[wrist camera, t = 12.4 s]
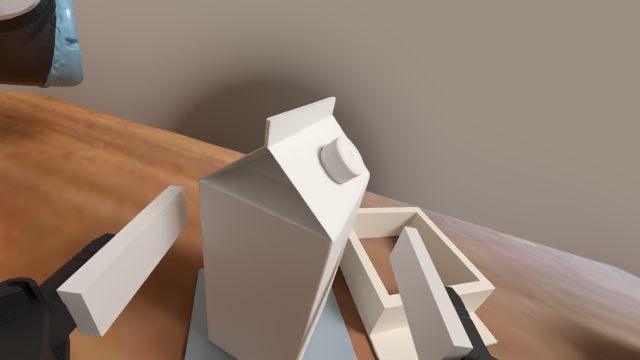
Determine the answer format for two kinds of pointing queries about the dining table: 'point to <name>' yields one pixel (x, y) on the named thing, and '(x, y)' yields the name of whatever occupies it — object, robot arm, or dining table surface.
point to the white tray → (387, 310)
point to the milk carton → (278, 233)
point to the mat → (320, 355)
